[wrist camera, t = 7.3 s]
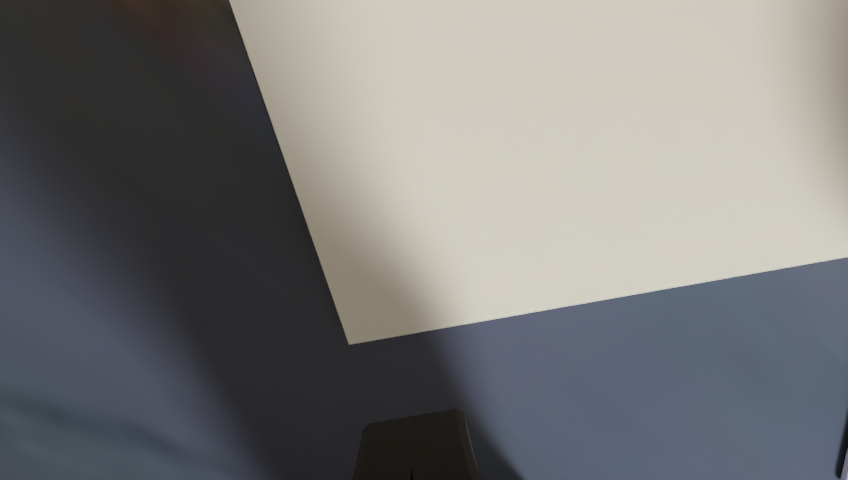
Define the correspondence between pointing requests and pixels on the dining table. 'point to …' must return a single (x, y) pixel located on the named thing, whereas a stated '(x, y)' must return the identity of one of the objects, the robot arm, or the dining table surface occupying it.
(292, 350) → the dining table surface
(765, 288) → the dining table surface
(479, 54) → the mat
